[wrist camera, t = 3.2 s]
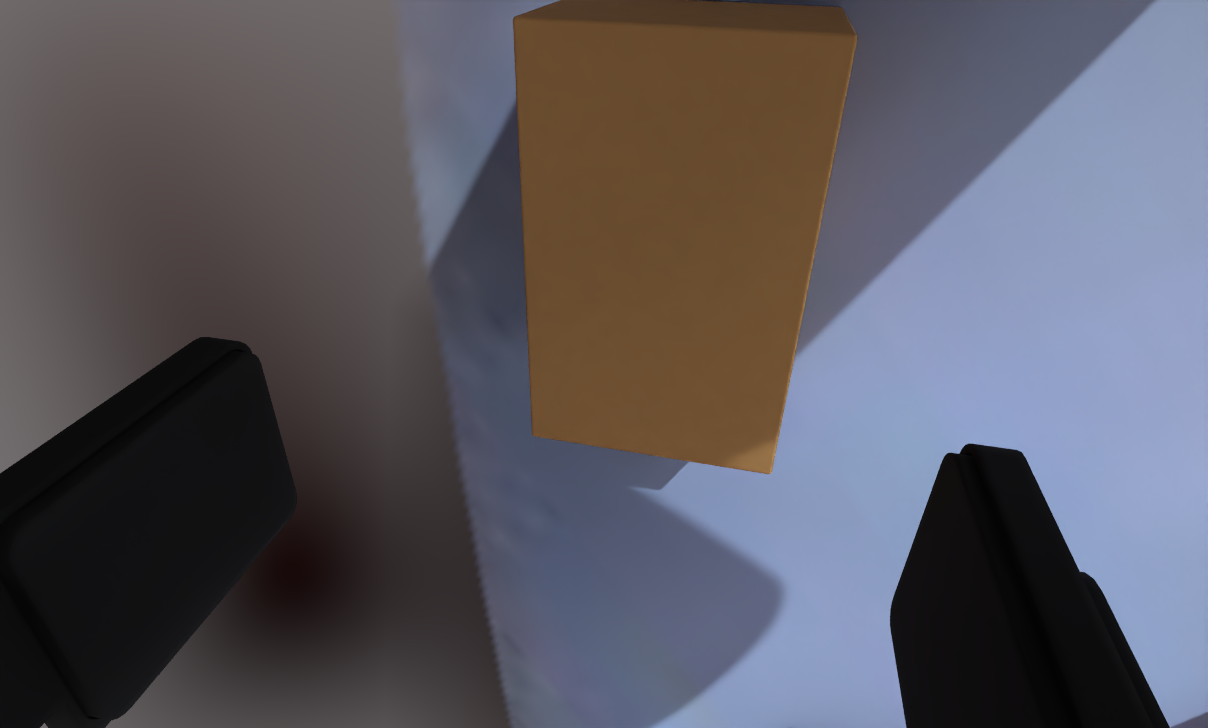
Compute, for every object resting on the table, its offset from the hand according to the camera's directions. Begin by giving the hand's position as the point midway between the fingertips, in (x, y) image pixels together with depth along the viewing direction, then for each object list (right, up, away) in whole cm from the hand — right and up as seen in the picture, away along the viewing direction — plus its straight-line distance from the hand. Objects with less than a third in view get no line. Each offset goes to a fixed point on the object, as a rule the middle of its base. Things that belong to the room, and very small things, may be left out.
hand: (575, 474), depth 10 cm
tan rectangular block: (+2, +5, +7) cm, 9 cm away
